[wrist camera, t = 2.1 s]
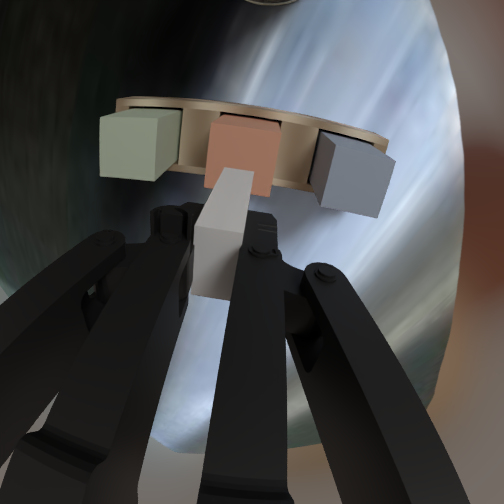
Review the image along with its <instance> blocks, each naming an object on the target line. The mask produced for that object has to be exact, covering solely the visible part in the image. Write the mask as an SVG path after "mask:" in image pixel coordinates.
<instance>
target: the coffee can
mask: <svg viewBox="0 0 504 504" xmlns="http://www.w3.org/2000/svg"><path fill="white" fill-rule="evenodd" d="M245 1H247V2H251V3H254V4H259V5H273V6H274V5H283V4H288V3H291V2H294V1H297V0H245Z"/></svg>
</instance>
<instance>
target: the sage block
mask: <svg viewBox="0 0 504 504" xmlns="http://www.w3.org/2000/svg"><path fill="white" fill-rule="evenodd" d="M182 114H183V110H175V109H156V108H133V109H129V110H125V111H121V112H117V113H113V114H110V115H106V116H103V117H100V176H104V177H116V178H127V179H137V180H147V181H155V180H156V179H157V178H158V177H159V176H161V175H162V174H163V173H164V172H165V171H166V170H167V169H168V168H169V167H170V166H171V165H172V164H173V163H174V162H176V161H177V160H178V157H179V145H180V134H181V123H182Z"/></svg>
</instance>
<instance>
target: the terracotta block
mask: <svg viewBox="0 0 504 504" xmlns="http://www.w3.org/2000/svg"><path fill="white" fill-rule="evenodd" d="M281 134H282V133H281V130H280V127H279V124H278V122H275V121H269V120H263V119H257V118H251V117H244V116H236V115H229V114H224V115H222V116H221V117H219V118H218V119H216V120H215V121H213V122H212V123H211V128H210V136H209V144H208V153H207V162H206V171H205V181H204V187H205V188H212V189H213V188H214V186H215V184H216V182H217V181H218V179H219V177H220V175H221V173H222V171H223V169H224V167H227V168H234V169H240V170H247V171H253V172H254V176H253V182H252V188H251V194H252V195H258V196H264V197H270V192H271V186H272V181H273V176H274V171H275V166H276V160H277V155H278V150H279V145H280V139H281Z"/></svg>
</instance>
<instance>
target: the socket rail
mask: <svg viewBox="0 0 504 504" xmlns="http://www.w3.org/2000/svg"><path fill="white" fill-rule="evenodd" d="M144 106H155V107H175V108H183V117H182V127H181V138H180V149H179V157H178V160H177V161H176V162H174V163H173V164H172V165H171V166H170V167H169V168H168V169H167V170H168V171H177V172H186V173H194V174H202V175H205V171H206V162H207V153H208V144H209V136H210V128H211V123H212V122H213V121H215V120H216V119H218V118H219V117H221V116H222V115H224V114H225V112H229V113H237V114H244V115H251V116H258V117H264V118H270V119H276V120H279V127H280V130H281V133H282V134H281V139H280V145H279V150H278V155H277V160H276V166H275V171H274V176H273V181H272V185H275V186H281V187H287V188H292V189H297V190H303V191H308V192H313V193H315V192H314V190H313V188H312V185H311V183H310V181H309V175H310V174H309V171H310V166H311V162H312V158H313V153H314V149H315V144H316V140H317V135H318V131H319V128H320V129H324V130H328V131H333V132H337V133H341V134H344V135H348V136H352V137H356V138H359V139H361V141H363V142H366V143H369V144H370V145H372V146H373V147H375V148H377V149H378V150H380V151H381V152H383V153H384V154H385V153H386V150H387V146H388V142H389V140H388V139H386V138H384V137H382V136H380V135H378V134H376V133H373V132H370V131H367V130H363V129H360V128H356V127H353V126H349V125H345V124H342V123H338V122H334V121H330V120H326V119H321V118H317V117H313V116H308V115H303V114H299V113H294V112H289V111H283V110H278V109H272V108H266V107H260V106H253V105H247V104H239V103H231V102H223V101H213V100H203V99H190V98H174V97H144V96H133V97H126V98H120V99H117V101H116V113H117V112H121V111H125V110H129V109H133V108H144Z"/></svg>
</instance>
